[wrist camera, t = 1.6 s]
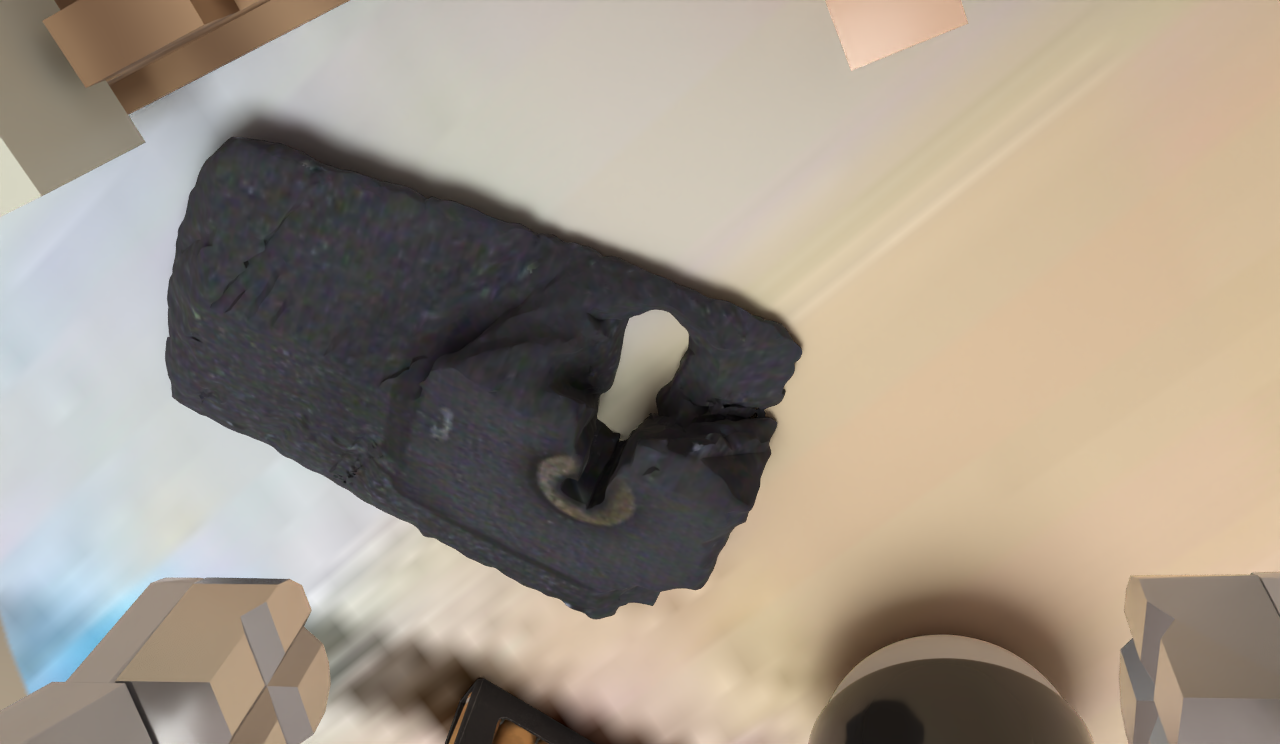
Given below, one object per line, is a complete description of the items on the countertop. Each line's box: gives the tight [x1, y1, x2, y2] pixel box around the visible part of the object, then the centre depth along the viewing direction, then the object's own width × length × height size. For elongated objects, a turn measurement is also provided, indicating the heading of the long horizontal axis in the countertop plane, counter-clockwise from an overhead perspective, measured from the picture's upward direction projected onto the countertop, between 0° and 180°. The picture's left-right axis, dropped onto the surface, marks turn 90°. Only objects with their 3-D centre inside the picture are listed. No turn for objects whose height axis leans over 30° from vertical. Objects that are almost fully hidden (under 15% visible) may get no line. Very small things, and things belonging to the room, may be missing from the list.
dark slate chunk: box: [165, 137, 802, 619], centre depth 39 cm, size 15×22×5 cm
